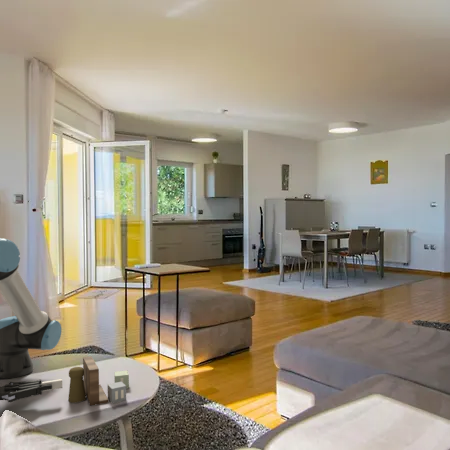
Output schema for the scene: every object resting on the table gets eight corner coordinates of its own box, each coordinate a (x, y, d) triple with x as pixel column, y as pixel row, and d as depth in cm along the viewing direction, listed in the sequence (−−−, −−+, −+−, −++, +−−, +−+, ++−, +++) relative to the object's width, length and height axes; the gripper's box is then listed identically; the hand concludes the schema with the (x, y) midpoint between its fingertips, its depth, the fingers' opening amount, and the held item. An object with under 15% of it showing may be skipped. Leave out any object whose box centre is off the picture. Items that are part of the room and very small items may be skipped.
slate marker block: (107, 384, 156) (121, 381, 159) (107, 398, 156) (121, 395, 159) (111, 389, 152) (126, 386, 154) (112, 403, 152) (126, 400, 154)
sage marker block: (127, 370, 170) (128, 383, 170) (114, 371, 169) (114, 385, 169) (128, 374, 165) (129, 388, 165) (114, 376, 164) (115, 389, 164)
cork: (80, 403, 152) (79, 371, 152) (64, 402, 153) (63, 370, 153) (89, 396, 158) (88, 365, 158) (73, 395, 159) (73, 364, 159)
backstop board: (83, 389, 164) (83, 357, 164) (100, 387, 167) (99, 355, 167) (90, 405, 150) (89, 370, 150) (108, 402, 152) (107, 367, 152)
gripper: (-14, 400, 149) (60, 388, 159) (-17, 415, 138) (64, 401, 148) (-15, 377, 149) (60, 367, 159) (-18, 391, 138) (63, 378, 147)
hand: (62, 383), depth 153 cm, fingers closed
